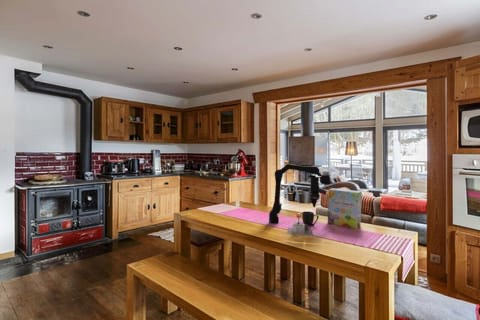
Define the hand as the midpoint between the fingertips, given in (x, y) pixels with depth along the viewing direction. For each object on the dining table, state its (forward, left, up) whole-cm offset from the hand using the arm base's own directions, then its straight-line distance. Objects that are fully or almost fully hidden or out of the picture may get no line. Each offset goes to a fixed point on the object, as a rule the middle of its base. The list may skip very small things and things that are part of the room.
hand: (314, 206), depth 190 cm
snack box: (+22, +10, -15) cm, 28 cm away
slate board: (-9, -18, -15) cm, 25 cm away
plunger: (-10, -18, -10) cm, 23 cm away
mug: (-2, 0, -15) cm, 15 cm away
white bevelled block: (-9, -18, -14) cm, 25 cm away
